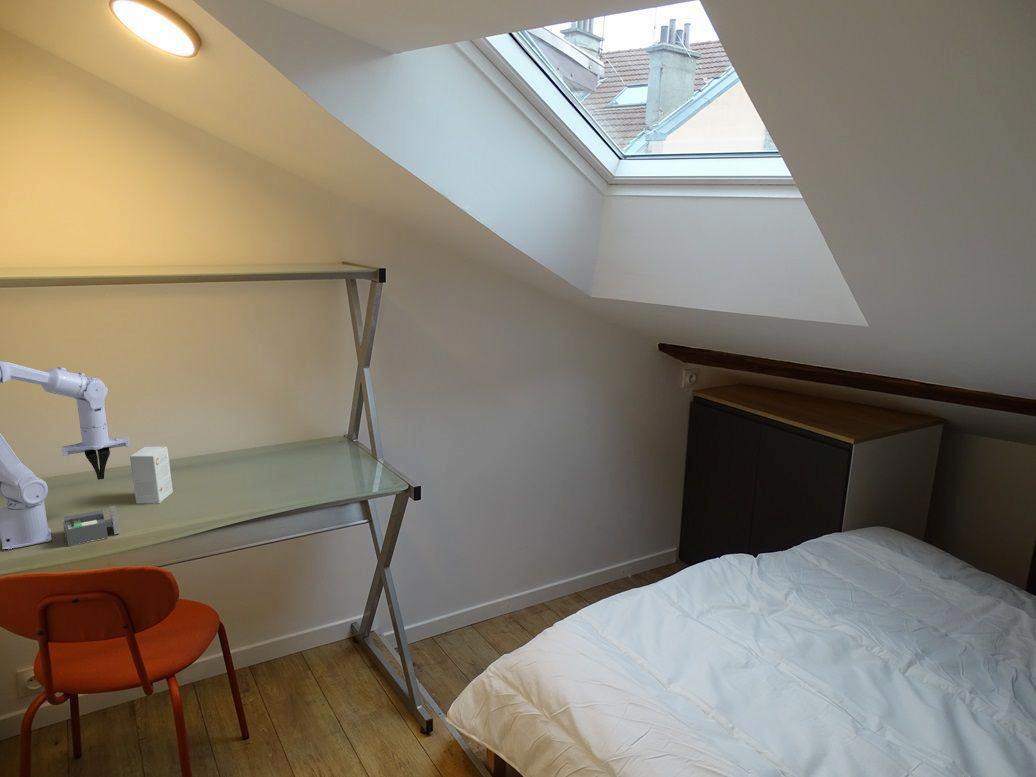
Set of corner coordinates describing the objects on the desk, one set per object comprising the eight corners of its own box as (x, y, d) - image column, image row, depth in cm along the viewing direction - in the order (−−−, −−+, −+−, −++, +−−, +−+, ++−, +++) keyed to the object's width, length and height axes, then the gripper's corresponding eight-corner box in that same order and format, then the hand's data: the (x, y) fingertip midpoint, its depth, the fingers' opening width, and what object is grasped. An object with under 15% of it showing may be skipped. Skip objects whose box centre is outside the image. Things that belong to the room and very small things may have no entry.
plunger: (66, 545, 175) (63, 526, 174) (64, 533, 181) (61, 515, 180) (120, 534, 181) (118, 516, 180) (116, 523, 187) (114, 505, 186)
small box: (150, 492, 208) (144, 446, 205) (173, 492, 208) (168, 446, 205) (135, 503, 200) (129, 455, 197) (159, 503, 200) (153, 455, 197)
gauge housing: (68, 546, 175) (65, 529, 174) (66, 532, 182) (63, 515, 181) (108, 538, 179) (105, 521, 178) (104, 525, 187) (101, 508, 186)
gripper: (60, 433, 181) (68, 488, 184) (128, 424, 189) (135, 477, 192) (58, 426, 187) (66, 480, 190) (125, 418, 195) (131, 469, 198)
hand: (100, 478), depth 192 cm, fingers closed
